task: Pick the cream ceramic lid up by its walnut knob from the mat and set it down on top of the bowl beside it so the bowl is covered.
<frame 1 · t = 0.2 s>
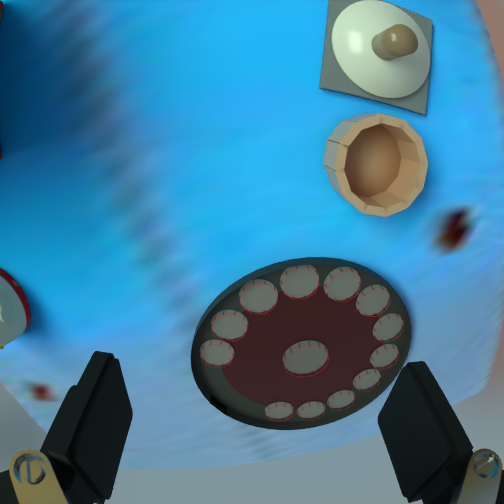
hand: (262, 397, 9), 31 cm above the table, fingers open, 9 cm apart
bowl: (365, 158, 36), on the table
kitchen timer: (3, 299, 44), on the table
palette wheel: (303, 354, 49), on the table
lid: (382, 48, 30), point 1 cm above the table, touching mat
mat: (379, 49, 31), on the table
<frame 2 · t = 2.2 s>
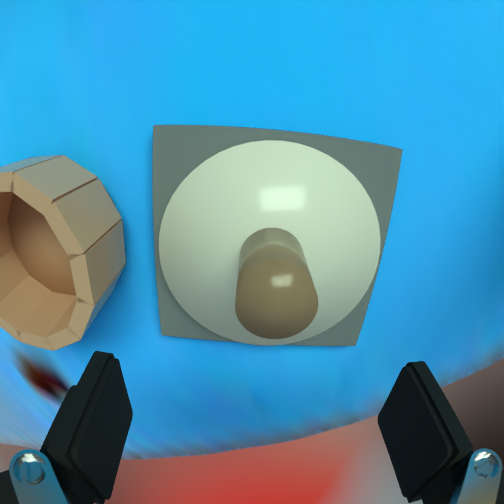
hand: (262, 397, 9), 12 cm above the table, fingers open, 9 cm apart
bowl: (61, 231, 19), on the table
lid: (270, 251, 19), point 1 cm above the table, touching mat
mat: (270, 245, 20), on the table
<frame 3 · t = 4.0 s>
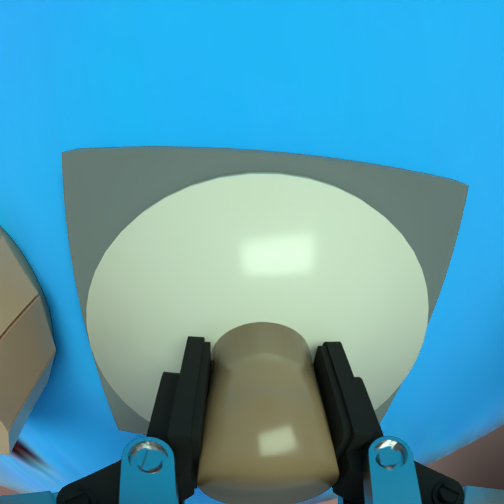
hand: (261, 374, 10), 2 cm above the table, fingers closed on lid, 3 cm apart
lid: (259, 347, 12), point 1 cm above the table, touching gripper, mat
mat: (258, 331, 13), on the table
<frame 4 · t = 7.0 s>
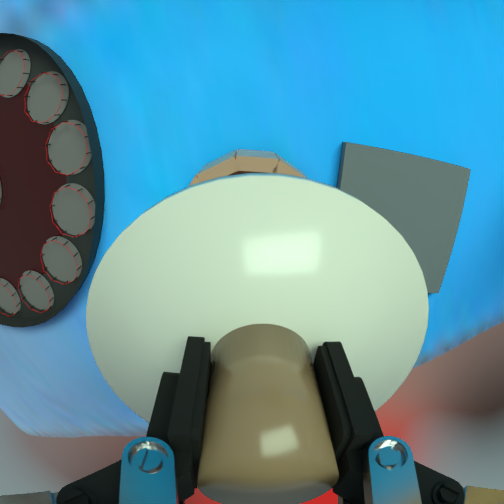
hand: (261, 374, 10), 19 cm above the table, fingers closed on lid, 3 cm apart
bowl: (249, 211, 28), on the table
lid: (259, 349, 12), point 18 cm above the table, touching gripper
mat: (398, 224, 29), on the table
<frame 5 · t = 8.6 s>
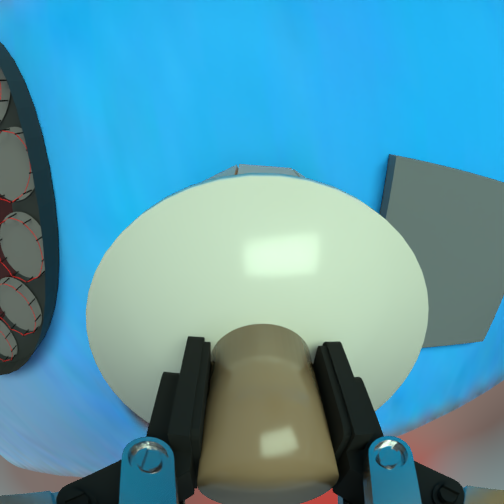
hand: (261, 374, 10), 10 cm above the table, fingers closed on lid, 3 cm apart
bowl: (256, 252, 20), on the table
lid: (259, 349, 12), point 9 cm above the table, touching gripper
mat: (449, 264, 21), on the table
when the fingers open (9 cm above the table, at t = 9.9 s): lid drops 1 cm, resting on bowl.
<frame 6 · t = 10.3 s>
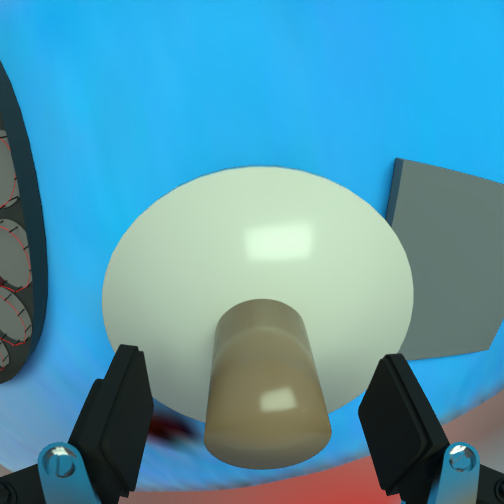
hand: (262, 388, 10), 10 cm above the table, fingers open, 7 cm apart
lid: (259, 325, 13), point 6 cm above the table, touching bowl
mat: (456, 273, 19), on the table
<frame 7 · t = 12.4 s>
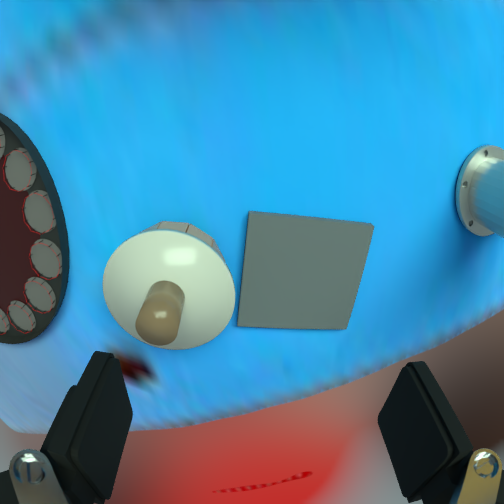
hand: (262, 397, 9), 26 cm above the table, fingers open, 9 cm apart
bowl: (176, 265, 36), on the table
lid: (167, 292, 30), point 6 cm above the table, touching bowl
mat: (302, 274, 37), on the table
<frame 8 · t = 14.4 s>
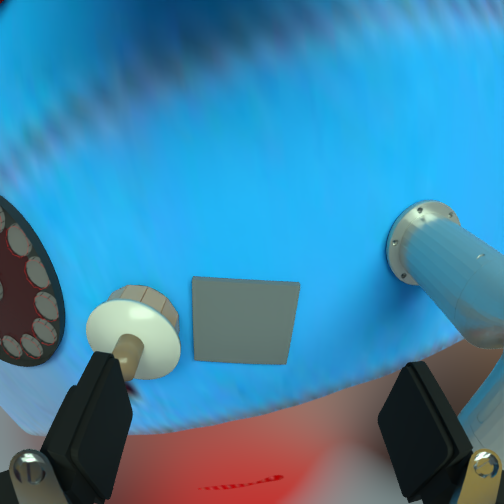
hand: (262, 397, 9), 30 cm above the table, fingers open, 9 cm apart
bowl: (143, 315, 44), on the table
lid: (132, 340, 39), point 6 cm above the table, touching bowl
mat: (243, 322, 45), on the table
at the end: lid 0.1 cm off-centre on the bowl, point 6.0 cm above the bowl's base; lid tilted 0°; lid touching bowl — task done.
